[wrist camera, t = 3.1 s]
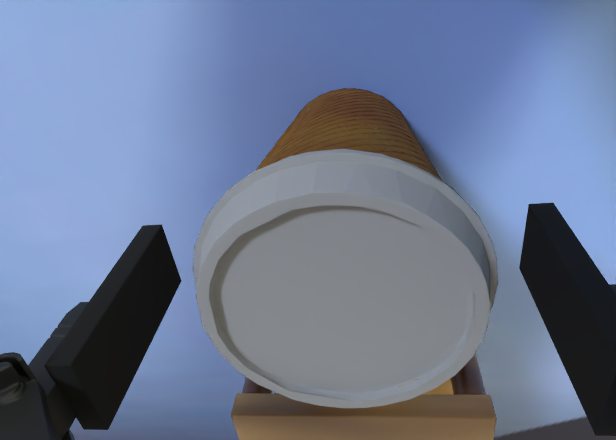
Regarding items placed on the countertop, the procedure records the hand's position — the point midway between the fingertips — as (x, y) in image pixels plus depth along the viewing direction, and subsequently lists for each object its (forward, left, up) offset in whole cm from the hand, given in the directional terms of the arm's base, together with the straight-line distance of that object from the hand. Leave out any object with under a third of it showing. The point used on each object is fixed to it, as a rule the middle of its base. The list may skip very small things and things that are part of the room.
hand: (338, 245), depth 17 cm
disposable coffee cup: (0, 0, -8) cm, 8 cm away
